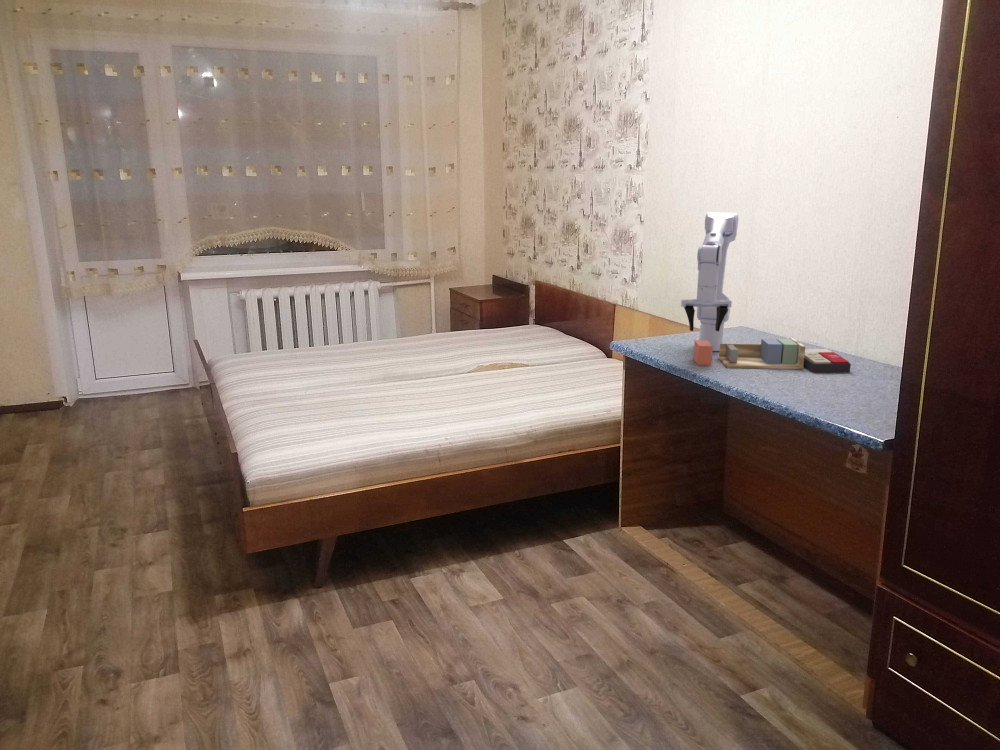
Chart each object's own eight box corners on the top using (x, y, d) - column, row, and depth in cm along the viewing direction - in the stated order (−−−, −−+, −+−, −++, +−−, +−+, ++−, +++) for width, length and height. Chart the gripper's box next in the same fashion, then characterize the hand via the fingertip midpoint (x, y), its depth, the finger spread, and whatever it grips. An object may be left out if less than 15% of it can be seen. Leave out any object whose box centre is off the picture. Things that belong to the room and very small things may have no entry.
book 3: (774, 357, 232) (776, 338, 230) (788, 357, 232) (789, 338, 230) (782, 364, 224) (784, 344, 223) (795, 364, 224) (797, 344, 222)
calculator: (814, 361, 217) (793, 347, 231) (812, 376, 218) (792, 361, 232) (851, 361, 217) (829, 347, 231) (849, 375, 218) (827, 360, 233)
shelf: (718, 358, 235) (720, 337, 233) (791, 359, 233) (793, 337, 231) (727, 367, 223) (728, 345, 221) (803, 369, 222) (805, 346, 220)
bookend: (725, 357, 233) (726, 344, 232) (731, 357, 232) (732, 344, 231) (730, 362, 226) (731, 349, 225) (737, 362, 226) (738, 349, 225)
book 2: (759, 357, 232) (761, 338, 231) (773, 357, 232) (774, 338, 230) (766, 363, 225) (768, 344, 223) (780, 364, 224) (782, 344, 223)
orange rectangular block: (693, 359, 234) (694, 340, 233) (706, 359, 234) (707, 340, 233) (697, 365, 227) (699, 346, 225) (711, 365, 226) (712, 346, 225)
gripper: (684, 287, 221) (682, 332, 225) (735, 287, 220) (731, 333, 223) (681, 284, 228) (678, 328, 231) (729, 284, 227) (726, 328, 230)
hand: (704, 330), depth 228 cm, fingers open, 7 cm apart
